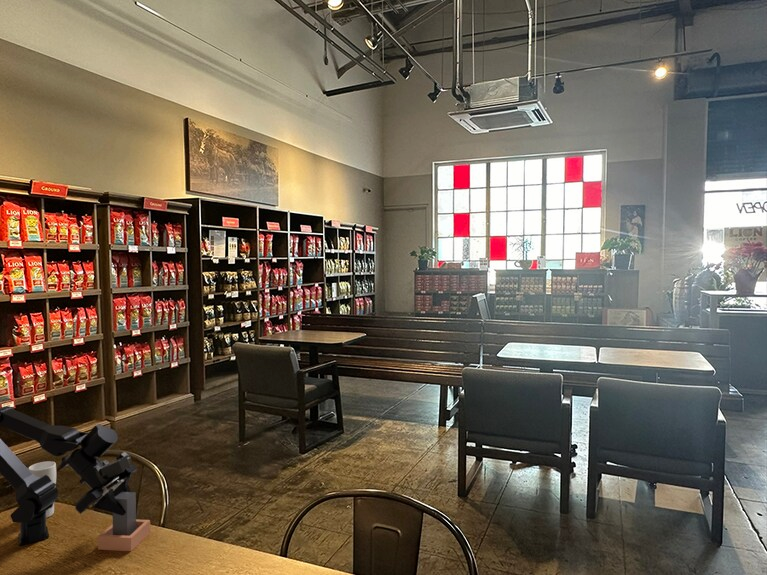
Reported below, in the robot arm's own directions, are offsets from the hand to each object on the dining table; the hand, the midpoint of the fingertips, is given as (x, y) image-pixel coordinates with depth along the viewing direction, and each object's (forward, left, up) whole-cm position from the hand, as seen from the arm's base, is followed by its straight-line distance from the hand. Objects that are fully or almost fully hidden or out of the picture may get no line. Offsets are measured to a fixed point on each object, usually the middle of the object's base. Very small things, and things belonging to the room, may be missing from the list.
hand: (129, 510), depth 131 cm
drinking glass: (-30, -17, -9) cm, 35 cm away
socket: (-1, -1, -8) cm, 9 cm away
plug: (-1, -1, -7) cm, 7 cm away
